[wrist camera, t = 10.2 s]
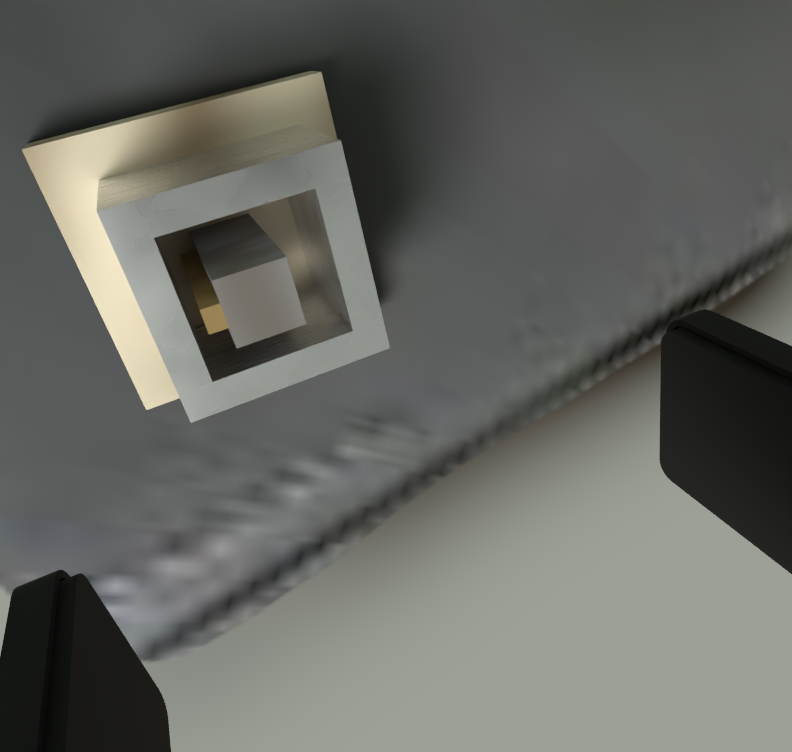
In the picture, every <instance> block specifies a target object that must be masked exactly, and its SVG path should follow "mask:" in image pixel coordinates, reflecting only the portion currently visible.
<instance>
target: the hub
mask: <svg viewBox="0 0 792 752" xmlns="http://www.w3.org/2000/svg"><path fill="white" fill-rule="evenodd" d="M286 197H288V200H289V203H290V207H291V210H292V214H293V217H294V221H295V224H296V228H297V231H298V235H299V238H300V242H301V245H302V249H303V252H304V255H305V259H306V262H307V266H308V269H309V273H310V276H311V280H312V283H313V286H311V287H308V288H305V289H302V290H299V291H297V294H298V297H299V301H300V304H301V307H302V311H303V314H304V317H305V321H306V324H305V325H303V326H300V327H297V328H294V329H291V330H288V331H286V332H283V333H280V334H277V335H274V336H271V337H269V338H266V339H263V340H260V341H257V342H254V343H251V344H249V345H246V346H243V347H240V348H236V346H235V343H234V341H233V339H232V337H231V334H230V332H229V330H228V329H225V330H222V331H219V332H216V333H213V334H210V335H209V333H208V331H207V328H206V326H205V323H203V324H200V325H197V326H194V323H193V321H192V318H191V316H190V313H189V311H188V308H187V306H186V304H185V301H184V299H183V296H182V294H181V291H180V289H179V286H178V284H177V281H176V279H175V276H174V274H173V271H172V269H171V266H170V264H169V261H168V259H167V257H166V254H165V252H164V249H163V247H162V244H161V242H160V239H159V236H162V235H165V234H169V233H172V232H175V231H178V230H182V229H185V228H188V227H191V226H195V225H198V224H201V223H205V222H208V221H211V220H214V219H218V218H221V217H224V216H227V215H231V214H234V213H237V212H240V211H244V210H247V209H250V208H254V207H257V206H260V205H263V204H267V203H270V202H273V201H276V200H280V199H283V198H286ZM97 213H98V216H99V218H100V220H101V222H102V225H103V227H104V229H105V231H106V234H107V236H108V238H109V240H110V243H111V245H112V247H113V249H114V252H115V254H116V256H117V258H118V261H119V263H120V265H121V267H122V270H123V272H124V274H125V276H126V278H127V281H128V283H129V285H130V287H131V290H132V292H133V294H134V296H135V299H136V301H137V303H138V305H139V308H140V310H141V312H142V314H143V317H144V319H145V321H146V323H147V326H148V328H149V330H150V332H151V335H152V337H153V339H154V341H155V343H156V346H157V348H158V350H159V352H160V355H161V357H162V359H163V361H164V364H165V366H166V368H167V370H168V373H169V375H170V377H171V379H172V382H173V384H174V386H175V388H176V391H177V393H178V395H179V397H180V400H181V402H182V404H183V406H184V409H185V411H186V413H187V415H188V417H189V420H190V422H191V423H192V422H194V421H197V420H200V419H202V418H205V417H208V416H210V415H213V414H216V413H218V412H221V411H224V410H226V409H229V408H232V407H234V406H237V405H240V404H242V403H245V402H248V401H250V400H253V399H256V398H258V397H261V396H264V395H266V394H269V393H272V392H274V391H277V390H280V389H282V388H285V387H288V386H290V385H293V384H296V383H298V382H301V381H303V380H306V379H309V378H311V377H314V376H317V375H319V374H322V373H325V372H327V371H330V370H333V369H335V368H338V367H341V366H343V365H346V364H349V363H351V362H354V361H357V360H359V359H362V358H365V357H367V356H370V355H373V354H375V353H378V352H381V351H383V350H386V349H389V348H390V347H389V342H388V338H387V334H386V330H385V325H384V321H383V317H382V313H381V308H380V304H379V300H378V296H377V291H376V287H375V283H374V279H373V274H372V270H371V266H370V262H369V257H368V253H367V249H366V245H365V240H364V236H363V232H362V228H361V223H360V219H359V215H358V211H357V206H356V202H355V198H354V194H353V189H352V185H351V181H350V177H349V172H348V168H347V164H346V160H345V155H344V151H343V147H342V143H341V140H339V139H336V138H333V137H331V136H328V135H326V134H323V133H320V132H318V131H315V130H313V129H310V128H307V127H305V126H302V125H299V124H298V125H294V126H290V127H287V128H283V129H280V130H276V131H272V132H269V133H265V134H262V135H258V136H255V137H251V138H247V139H244V140H240V141H237V142H233V143H230V144H226V145H222V146H219V147H215V148H212V149H208V150H205V151H201V152H197V153H194V154H190V155H187V156H183V157H180V158H176V159H172V160H169V161H165V162H162V163H158V164H155V165H151V166H147V167H144V168H140V169H137V170H133V171H130V172H126V173H122V174H119V175H115V176H112V177H108V178H105V179H101V180H98V196H97Z"/></svg>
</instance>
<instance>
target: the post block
mask: <svg viewBox="0 0 792 752" xmlns="http://www.w3.org/2000/svg"><path fill="white" fill-rule="evenodd" d="M298 124H299V125H302V126H305V127H307V128H310V129H313V130H315V131H318V132H320V133H323V134H326V135H328V136H331V137H333V138H336V139H337V136H336V132H335V127H334V123H333V119H332V115H331V110H330V106H329V102H328V98H327V93H326V89H325V85H324V81H323V76H322V72H317V71H308V72H304V73H300V74H296V75H292V76H288V77H284V78H280V79H276V80H272V81H269V82H265V83H261V84H257V85H253V86H249V87H245V88H241V89H237V90H234V91H230V92H226V93H222V94H218V95H214V96H210V97H206V98H202V99H199V100H195V101H191V102H187V103H183V104H179V105H175V106H171V107H167V108H163V109H160V110H156V111H152V112H148V113H144V114H140V115H136V116H132V117H128V118H125V119H121V120H117V121H113V122H109V123H105V124H101V125H97V126H93V127H90V128H86V129H82V130H78V131H74V132H70V133H66V134H62V135H58V136H55V137H51V138H47V139H43V140H39V141H35V142H31V143H27V144H26V145H25V146H24V147H23V148H22V151H23V153H24V155H25V157H26V159H27V162H28V164H29V166H30V168H31V170H32V172H33V174H34V176H35V178H36V180H37V182H38V185H39V187H40V189H41V191H42V193H43V195H44V197H45V199H46V201H47V203H48V205H49V207H50V210H51V212H52V214H53V216H54V218H55V220H56V222H57V224H58V226H59V228H60V230H61V233H62V235H63V237H64V239H65V241H66V243H67V245H68V247H69V249H70V251H71V253H72V256H73V258H74V260H75V262H76V264H77V266H78V268H79V270H80V272H81V274H82V276H83V279H84V281H85V283H86V285H87V287H88V289H89V291H90V293H91V295H92V297H93V299H94V302H95V304H96V306H97V308H98V310H99V312H100V314H101V316H102V318H103V320H104V322H105V325H106V327H107V329H108V331H109V333H110V335H111V337H112V339H113V341H114V343H115V345H116V348H117V350H118V352H119V354H120V356H121V358H122V360H123V362H124V364H125V366H126V368H127V371H128V373H129V375H130V377H131V379H132V381H133V383H134V385H135V387H136V389H137V391H138V394H139V396H140V398H141V400H142V402H143V404H144V406H145V408H146V410H148V409H151V408H154V407H157V406H159V405H162V404H165V403H168V402H170V401H173V400H176V399H179V398H180V397H179V395H178V393H177V391H176V388H175V386H174V384H173V382H172V379H171V377H170V375H169V373H168V370H167V368H166V366H165V364H164V361H163V359H162V357H161V355H160V352H159V350H158V348H157V346H156V343H155V341H154V339H153V337H152V335H151V332H150V330H149V328H148V326H147V323H146V321H145V319H144V317H143V314H142V312H141V310H140V308H139V305H138V303H137V301H136V299H135V296H134V294H133V292H132V290H131V287H130V285H129V283H128V281H127V278H126V276H125V274H124V272H123V270H122V267H121V265H120V263H119V261H118V258H117V256H116V254H115V252H114V249H113V247H112V245H111V243H110V240H109V238H108V236H107V234H106V231H105V229H104V227H103V225H102V222H101V220H100V218H99V216H98V213H97V196H98V180H101V179H105V178H108V177H112V176H115V175H119V174H122V173H126V172H130V171H133V170H137V169H140V168H144V167H147V166H151V165H155V164H158V163H162V162H165V161H169V160H172V159H176V158H180V157H183V156H187V155H190V154H194V153H197V152H201V151H205V150H208V149H212V148H215V147H219V146H222V145H226V144H230V143H233V142H237V141H240V140H244V139H247V138H251V137H255V136H258V135H262V134H265V133H269V132H272V131H276V130H280V129H283V128H287V127H290V126H294V125H298ZM159 239H160V242H161V244H162V247H163V249H164V252H165V254H166V257H167V259H168V261H169V264H170V266H171V269H172V271H173V274H174V276H175V279H176V281H177V284H178V286H179V289H180V291H181V294H182V296H183V299H184V301H185V304H186V306H187V308H188V311H189V313H190V316H191V318H192V321H193V323H194V326H197V325H200V324H203V323H205V326H206V328H207V331H208V333H209V335H210V334H213V333H216V332H219V331H222V330H225V329H228V330H229V332H230V334H231V337H232V339H233V341H234V343H235V346H236V348H240V347H243V346H246V345H249V344H251V343H254V342H257V341H260V340H263V339H266V338H269V337H271V336H274V335H277V334H280V333H283V332H286V331H288V330H291V329H294V328H297V327H300V326H303V325H305V324H306V321H305V317H304V314H303V311H302V307H301V304H300V301H299V297H298V294H297V291H299V290H302V289H305V288H308V287H311V286H313V283H312V280H311V276H310V273H309V269H308V266H307V262H306V259H305V255H304V252H303V249H302V245H301V242H300V238H299V235H298V231H297V228H296V224H295V221H294V217H293V214H292V210H291V207H290V203H289V200H288V197H286V198H283V199H280V200H276V201H273V202H270V203H267V204H263V205H260V206H257V207H254V208H250V209H247V210H244V211H240V212H237V213H234V214H231V215H227V216H224V217H221V218H218V219H214V220H211V221H208V222H205V223H201V224H198V225H195V226H191V227H188V228H185V229H182V230H178V231H175V232H172V233H169V234H165V235H162V236H159Z"/></svg>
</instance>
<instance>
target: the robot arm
mask: <svg viewBox="0 0 792 752" xmlns="http://www.w3.org/2000/svg"><path fill="white" fill-rule="evenodd" d="M660 396H661V397H660V398H661V399H660V464H661V467H662V469H663V471H664V473H665V474H666V476H667V477H668V478H669V479H670V480H671V481H672V482H673V483H675V484H676V485H677V486H679V487H680V488H681V489H683V490H684V491H685V492H686V493H688V494H689V495H690V496H691V497H693V498H694V499H696V500H697V501H698V502H699V503H700V504H702V505H703V506H704V507H706V508H707V509H708V510H710V511H711V512H712V513H713V514H715V515H716V516H717V517H719V518H720V519H721V520H723V521H724V522H725V523H726V524H728V525H729V526H730V527H731V528H733V529H734V530H735V531H737V532H738V533H739V534H741V535H742V536H743V537H745V538H746V539H747V540H748V541H750V542H751V543H752V544H753V545H755V546H756V547H758V548H759V549H760V550H761V551H763V552H764V553H765V554H766V555H768V556H769V557H770V558H772V559H773V560H774V561H775V562H777V563H778V564H779V565H781V566H782V567H783V568H785V569H786V570H787V571H788V572H790V573H791V574H792V346H790V345H788V344H786V343H783V342H781V341H779V340H776V339H774V338H772V337H770V336H767V335H765V334H763V333H761V332H758V331H756V330H754V329H751V328H749V327H747V326H744V325H742V324H740V323H738V322H735V321H733V320H731V319H728V318H726V317H724V316H721V315H720V314H717V313H715V312H713V311H710V310H706V309H705V310H699V311H697V312H694V313H692V314H689V315H687V316H684V317H682V318H679V319H677V320H675V321H673V322H671V323H670V324H669V326H668V328H667V331H666V334H665V335H664V336H663V338H662V341H661V395H660ZM0 752H171V747H170V735H169V725H168V715H167V710H166V706H165V703H164V699H163V697H162V694H161V693H160V691H159V689H158V687H157V686H156V684H155V683H154V681H153V680H152V678H151V677H150V675H149V673H148V672H147V670H146V669H145V667H144V666H143V664H142V663H141V661H140V660H139V658H138V656H137V655H136V653H135V652H134V650H133V649H132V647H131V646H130V644H129V643H128V641H127V639H126V638H125V636H124V635H123V633H122V632H121V630H120V629H119V627H118V626H117V624H116V623H115V621H114V619H113V618H112V616H111V615H110V613H109V612H108V610H107V609H106V607H105V606H104V604H103V602H102V601H101V599H100V598H99V596H98V595H97V593H96V592H95V590H94V589H93V587H92V585H91V584H90V582H89V581H88V579H87V578H86V577H85V576H84V575H83V574H77V575H75V576H72V577H70V576H69V575H68V574H67V573H66V572H65V571H63V570H58V571H55V572H53V573H50V574H48V575H46V576H43V577H41V578H38V579H36V580H33V581H31V582H28V583H26V584H23V585H21V586H18V587H17V588H15V589H14V590H13V593H12V596H11V601H10V607H9V612H8V618H7V623H6V629H5V634H4V640H3V645H2V651H1V656H0Z"/></svg>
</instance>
